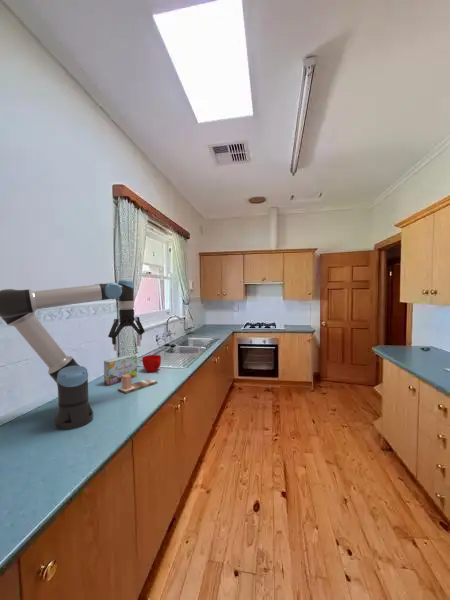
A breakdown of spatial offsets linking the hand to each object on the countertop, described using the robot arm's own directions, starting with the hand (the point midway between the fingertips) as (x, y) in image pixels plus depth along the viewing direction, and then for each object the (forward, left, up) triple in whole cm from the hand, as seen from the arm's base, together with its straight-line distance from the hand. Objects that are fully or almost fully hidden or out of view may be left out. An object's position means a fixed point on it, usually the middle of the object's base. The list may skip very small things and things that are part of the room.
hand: (127, 348), depth 146 cm
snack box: (+12, +29, -27) cm, 41 cm away
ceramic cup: (+37, +28, -27) cm, 54 cm away
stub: (+5, +10, -25) cm, 28 cm away
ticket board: (+12, +10, -27) cm, 31 cm away
